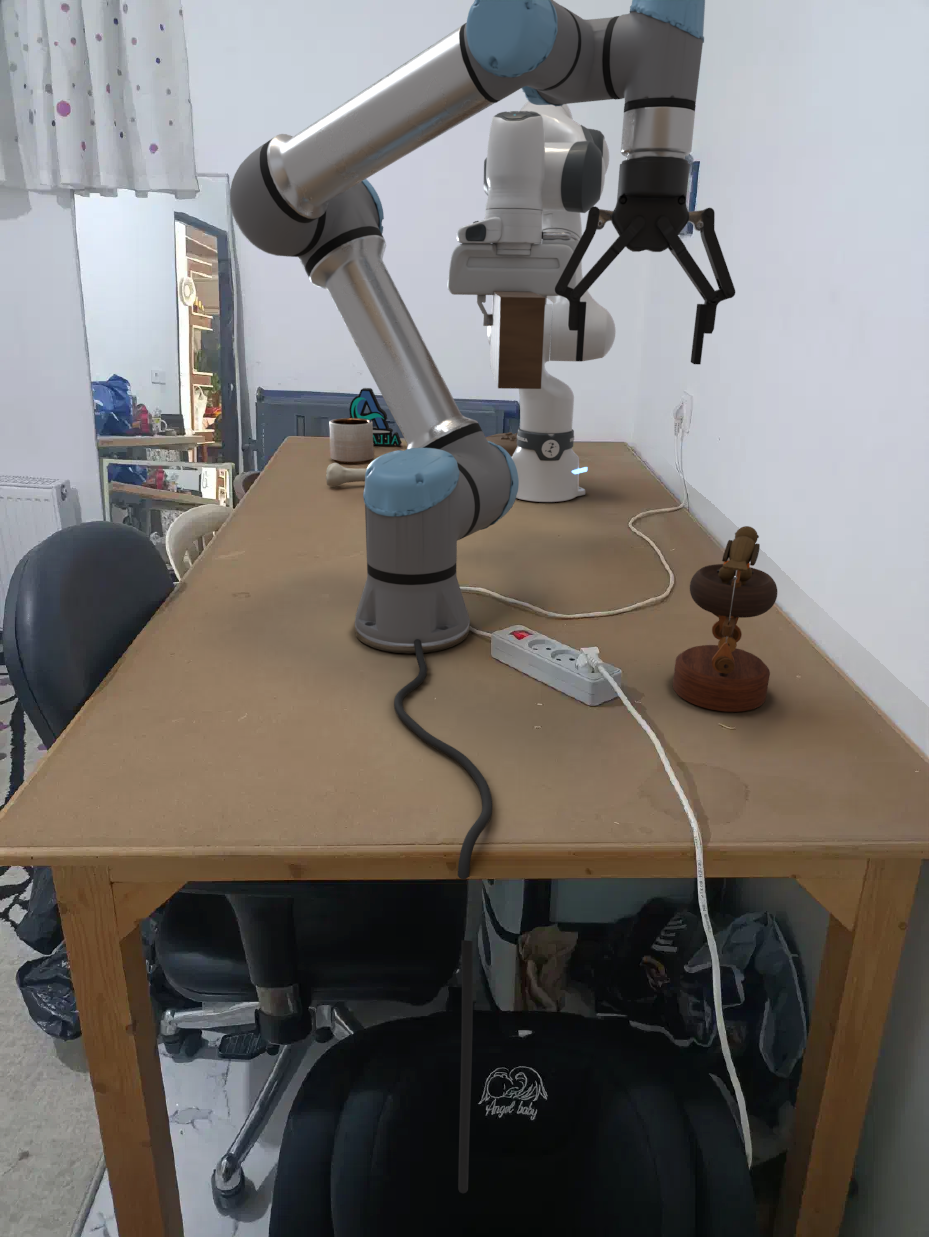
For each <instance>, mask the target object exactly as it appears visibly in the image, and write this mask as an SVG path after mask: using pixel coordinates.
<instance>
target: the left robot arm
mask: <svg viewBox="0 0 929 1237" xmlns="http://www.w3.org/2000/svg"><path fill="white" fill-rule="evenodd" d="M705 9H706V0H631V5H630V6H629V13H625V14H621V15H616V16H612V17H603V18H601V17H600V18H592V19H585V18H582V17H581V16H579V15H577V13H574V12H573V11H572V10H570V9H569V8H566V7H565V6H563V5H561V4H559V3H558V2H556V1H555V0H474V1H473V3H472V4H471V6H470V8H469V10H468V14H467V18H466V22H465V23H463V24H462V25H460V26H459V27H457V28H456V29H454V30H453V31H451V32H450V33H448V34H446V35H445V36H444V37H441V39H439V40H437V41H436V42H435V43H433V44H432V45H430V46H428V47H426V48H425V49H424V50H422V51H420V52H419V53H418V54H417V55H415V56H414V57H412V58H410V59H408V60H407V61H406V62H405V63H403V64H401V65H400V66H397V67H396V68H395V69H393V70H392V71H391V72H388V73H387V74H386V75H385V76H383V77H381V78H379V80H377V81H375V82H374V83H372V84H370V85H369V86H368V87H366V88H365V89H363V90H362V91H360V92H358V93H357V94H355V95H354V96H352V97H351V98H350V99H348V100H347V101H345V102H343V103H342V104H340V105H339V106H337V107H336V108H334V109H333V110H332V111H330V112H329V113H327V114H325V115H323V116H322V117H321V118H319V119H318V120H316V121H315V122H313V123H311V124H310V125H308V126H307V127H305V128H304V129H303V130H301V131H299V132H298V133H296V134H295V135H291V134H287V133H279V134H277V135H275V136H273V137H272V138H270V139H269V140H267V141H266V142H265V143H263V144H262V145H260V146H259V147H258V148H256V149H255V150H253V151H252V152H251V153H249V155H248V156H247V157H246V158H245V159H244V160H243V161H242V162H241V163H240V165H239V166H238V167H237V169H236V172H235V173H234V175H233V178H232V181H231V185H230V190H229V205H230V210H231V214H232V217H233V220H234V222H235V225H236V226H237V228H238V230H239V231H240V234H242V236H243V237H244V238H245V239H246V240H247V241H248V243H250V244H251V245H253V246H254V247H255V248H257V249H258V250H259V251H262V252H264V253H266V254H270V255H273V256H276V257H286V258H287V257H289V258H298V260H299V262H300V263H301V265H302V268H303V270H304V271H305V273H306V276H307V278H308V279H309V281H310V283H311V284H312V285H313V286H315V287H317V288H321V289H324V290H326V291H328V293H329V295H330V297H331V300H332V301H333V303H334V305H335V307H336V309H337V311H338V313H339V315H340V317H341V319H342V321H343V323H344V324H345V326H346V328H347V330H348V332H349V334H350V336H351V338H352V340H353V342H354V344H355V346H356V348H357V349H358V351H359V354H360V356H361V357H362V359H363V361H364V363H365V365H366V367H367V369H368V371H369V373H370V375H371V377H372V379H373V381H374V382H375V384H376V386H377V388H378V390H379V392H380V394H381V396H382V398H383V400H384V402H385V403H386V405H387V407H388V409H389V412H390V413H391V415H392V417H393V419H394V422H395V423H396V426H398V429H399V430H400V432H401V434H402V436H403V438H404V440H405V443H406V444H407V446H406V447H407V448H406V449H404V450H400V449H398V450H393V451H389V452H386V453H384V454H381V455H379V456H378V457H376V458H374V459H372V460H371V461H370V463H369V464H368V466H367V468H366V469H367V470H366V473H365V481H364V488H363V492H362V493H363V494H362V498H363V503H364V515H365V516H364V517H365V518H364V520H365V545H366V546H365V548H366V579H365V584H364V586H363V589H362V592H361V596H360V600H359V602H358V606H357V609H356V612H355V618H354V633H355V636H356V638H357V639H358V640H359V641H360V642H362V643H363V644H365V645H367V646H368V647H371V648H374V649H377V650H380V651H384V652H390V653H396V654H397V653H398V654H415V658H416V662H417V666H418V671H419V672H418V674H417V675H416V676H415V678H414V679H413V680H411V681H410V682H409V683H407V684H406V685H405V686H403V687H402V688H400V690H399V691H398V692H397V693H396V695H395V696H394V700H393V707H394V708H393V709H394V711H395V713H396V716H397V717H398V718H399V720H400V721H401V722H402V723H403V724H404V725H405V726H406V727H407V728H408V729H410V731H411V732H413V733H414V734H415V735H416V736H417V737H418V738H419V739H420V740H422V741H423V742H425V743H426V744H428V745H429V746H431V747H432V748H434V749H437V750H438V751H439V752H440V753H443V754H445V755H446V756H448V757H449V758H451V759H453V760H454V761H456V762H457V763H458V764H459V765H461V767H462V768H464V770H465V771H466V772H467V773H468V774H469V776H471V778H472V779H473V781H474V782H475V784H476V785H477V788H478V790H479V794H480V798H481V812H480V814H479V816H478V818H477V819H476V820H475V822H474V823H473V824H472V825H471V827H470V828H469V830H468V831H467V833H466V835H465V836H464V838H463V839H464V840H463V842H462V845H461V849H460V853H459V857H458V864H457V877H458V879H461V880H466V879H468V878H469V877H470V868H471V867H470V866H471V860H472V855H473V850H474V847H475V845H476V842H477V840H478V838H479V836H480V835H481V833H482V832H483V831H484V830H485V828H486V827H487V826H488V824H489V822H490V820H491V817H492V813H493V797H492V792H491V789H490V786H489V784H488V782H487V780H486V778H485V776H484V775H483V773H481V771H480V770H479V768H478V767H477V766H476V765H475V764H474V763H473V762H472V761H471V760H470V759H469V758H468V757H467V756H466V755H465V754H464V753H462V752H461V751H460V750H458V749H457V748H455V747H453V746H451V745H450V744H448V743H446V742H444V741H443V740H440V739H439V738H437V737H435V736H434V735H433V734H431V733H430V732H428V731H427V730H425V729H424V728H423V727H422V726H421V725H420V724H418V722H416V721H415V720H414V719H413V718H412V717H411V716H410V715H409V714H408V713H407V712H406V710H405V708H404V705H403V701H404V699H405V697H406V696H407V695H408V694H411V692H413V691H414V690H416V689H417V688H418V687H419V686H420V685H421V684H423V682H424V680H425V679H426V677H427V674H428V666H427V663H426V659H425V655H424V654H425V653H433V652H439V651H443V650H446V649H449V648H452V647H455V646H457V645H458V644H460V643H462V642H463V641H464V640H466V639H467V637H468V636H469V634H470V616H469V612H468V608H467V606H466V601H465V599H464V596H463V593H462V589H461V586H460V583H459V581H458V577H457V561H458V560H457V559H458V558H457V557H458V556H457V554H458V541H460V540H462V539H464V538H467V537H469V536H470V535H473V534H475V533H477V532H479V531H482V530H485V529H489V527H491V526H493V525H495V524H496V523H497V522H499V520H501V519H503V518H504V517H505V516H506V515H507V514H508V513H509V512H510V511H511V509H512V507H513V506H514V504H515V502H516V499H517V498H516V495H517V492H518V486H519V479H518V472H517V468H516V465H515V463H514V461H513V459H512V457H511V456H510V455H509V453H508V452H507V451H506V450H505V449H504V448H502V447H501V446H499V445H496V444H494V443H492V442H490V441H487V439H486V437H487V436H486V435H485V433H484V431H483V429H482V427H481V425H480V423H479V422H478V420H475V419H473V418H469V417H466V416H465V415H463V414H462V413H461V411H460V409H459V406H458V405H457V402H456V401H455V399H454V397H453V395H452V393H451V391H450V389H449V387H448V385H447V384H446V381H445V379H444V376H442V374H441V372H440V370H439V367H438V365H437V363H436V361H435V360H434V358H433V356H432V354H431V351H430V350H429V349H428V346H427V344H426V342H425V340H424V339H423V337H422V335H421V333H420V331H419V328H418V327H417V324H416V323H415V321H414V319H413V317H412V315H411V313H410V310H409V309H408V307H407V304H406V303H405V301H404V299H403V297H402V295H401V293H400V292H399V290H398V287H397V286H396V284H395V282H394V280H393V278H392V276H391V274H390V272H389V270H388V269H387V266H386V264H385V262H384V260H383V258H384V254H385V251H386V248H387V242H386V240H385V238H384V235H383V233H384V226H383V220H384V219H385V216H384V208H383V204H382V201H381V198H380V196H379V194H378V192H377V190H376V189H375V187H374V186H373V184H372V183H371V182H370V181H369V180H368V178H370V177H372V176H373V175H376V174H377V173H379V172H381V171H382V170H384V169H385V168H388V167H389V166H390V165H392V164H394V163H396V162H397V161H399V160H401V159H402V158H405V157H406V156H407V155H409V154H411V153H413V152H414V151H416V150H418V149H419V148H421V147H423V146H424V145H426V144H428V143H430V142H431V141H433V140H434V139H437V138H438V137H440V136H441V135H443V134H445V133H446V132H448V131H450V130H452V129H453V128H455V127H457V126H458V125H460V124H462V123H463V122H465V121H467V120H468V119H470V118H472V117H474V116H476V115H477V114H479V113H481V112H482V111H484V110H486V109H487V108H489V107H491V106H492V105H494V104H496V103H498V102H501V101H502V100H503V99H506V98H507V97H509V96H511V95H513V94H514V93H516V92H518V91H519V90H521V92H523V93H524V97H525V98H526V100H527V102H528V101H529V102H530V103H532V104H534V105H554V106H562V105H563V104H567V105H568V104H579V103H588V102H599V101H600V102H601V101H608V100H615V101H616V100H623V99H624V106H623V117H622V118H623V119H622V131H621V142H620V143H621V145H620V154H621V155H622V156H624V157H625V159H624V160H622V161H621V163H620V164H619V171H618V182H617V195H616V196H617V197H616V204H615V208H614V209H613V210H611V209H610V210H609V209H602V208H599V207H598V206H593V207H592V208H590V210H588V211H587V216H586V217H587V218H586V225H585V229H584V231H583V232H582V237H581V239H580V241H579V242H578V244H577V246H576V248H575V250H574V252H573V254H572V256H571V258H570V260H569V262H568V263H567V265H566V267H565V269H564V271H563V273H562V275H561V277H560V279H559V281H558V283H557V284H556V286H555V292H556V294H558V295H560V296H562V297H565V298H567V299H568V301H569V318H568V327H569V330H572V331H577V346H576V361H575V362H577V361H582V362H584V361H583V347H584V332H585V316H586V302H580V298H581V297H582V296H583V295H584V293H585V292H586V291H587V290H588V291H589V289H590V288H591V287H592V286H593V285H594V283H595V282H596V281H597V280H598V279H599V277H600V276H601V275H602V274H603V273H604V272H605V271H606V269H608V268H609V266H610V265H611V264H612V263H613V262H614V260H615V259H616V258H617V257H618V256H619V255H620V254H621V253H622V251H623V250H624V249H625V248H626V249H627V250H628V251H631V252H634V253H640V252H643V251H648V252H651V253H661V252H664V251H666V250H667V249H668V250H669V252H670V253H671V255H672V256H673V257H674V258H675V260H676V261H677V262H678V264H679V265H680V267H681V269H682V270H683V271H684V273H685V274H686V276H687V277H688V279H689V281H691V283H692V285H693V286H694V287H695V289H696V290H697V292H698V293H699V295H700V296H701V297H702V299H703V301H704V303H697V304H696V309H695V310H696V311H695V318H694V327H693V337H692V345H691V355H690V363H691V364H692V365H701V364H702V354H703V346H704V337H705V334H707V335H708V334H711V335H712V334H713V332H714V331H715V324H716V316H717V307H718V305H719V304H720V303H721V302H722V301H725V300H728V299H732V298H734V296H735V295H736V288H735V285H734V283H733V279H732V277H731V273H730V271H729V268H728V264H727V262H726V260H725V256H724V253H723V251H722V248H721V245H720V242H719V239H718V236H717V233H716V231H715V223H716V222H715V221H716V220H715V219H716V218H715V216H716V213H715V210H714V209H713V208H712V207H706V208H704V209H702V210H692V211H689V210H688V207H687V196H688V187H689V186H688V185H689V178H690V169H691V168H690V167H691V164H690V163H689V161H688V160H687V159H686V157H688V156H689V155H690V154H691V153H692V149H693V140H694V129H695V118H696V107H697V106H696V104H697V103H696V102H697V95H698V89H699V88H698V86H699V80H700V79H699V78H700V72H701V71H700V69H701V63H702V53H703V46H704V43H705V36H704V29H705V28H704V27H705V11H706V10H705ZM608 222H611V224H612V226H613V227H614V230H615V231H616V233H617V234H618V237H617V238H616V239H615V240H614V242H612V244H611V245H610V246H609V247H608V248H607V250H606V251H605V252H604V253H603V254H602V255H601V257H600V258H599V259H598V260H597V261H596V262H595V264H594V265H592V267H591V268H590V269H589V270H588V271H587V273H586V274H585V275H584V276H583V279H582V280H581V281H580V282H579V283H578V284H577V286H576V287H575V288H574V289H573V288H570V287H568V285H569V283H570V281H571V279H572V277H573V275H574V273H575V271H576V269H577V268H578V266H579V264H580V262H581V260H583V258H584V256H585V254H586V252H587V251H588V249H589V247H590V245H591V243H592V241H593V239H594V237H595V235H596V232H597V231H601V230H602V229H603V228H604V227H605V225H606V224H607V223H608ZM688 223H691V224H692V226H693V229H694V230H695V231H696V232H699V234H700V238H701V242H702V245H703V248H704V250H705V253H706V256H707V258H708V261H709V265H710V266H711V270H712V273H713V276H714V279H715V282H716V284H717V287H718V289H716V290H715V289H714V287H713V286H712V284H711V283H710V281H709V279H708V278H707V277H706V275H705V274H704V273H703V271H702V270H701V268H700V266H699V265H698V264H697V262H696V261H695V259H694V258H693V256H692V255H691V254H690V252H689V250H688V249H687V246H686V245H685V244H684V242H683V240H682V238H680V236H679V235H680V234H681V232H682V231H683V230H684V229H685V227H686V226H687V225H688ZM473 942H474V941H473V940H467V939H466V940H465V939H461V1048H460V1050H461V1051H460V1053H461V1054H460V1089H459V1090H460V1093H459V1096H460V1098H459V1132H458V1134H459V1135H458V1180H457V1182H458V1183H457V1186H458V1188H457V1189H458V1191H459V1193H461V1194H466V1193H467V1192H468V1191H469V1167H470V1166H469V1164H470V1163H469V1162H470V1161H469V1160H470V1159H469V1158H470V1130H471V1128H470V1126H471V1099H472V1097H471V1094H472V1064H473V1063H472V1062H473V1022H474V1021H473V1019H474V1018H473V1015H474V1014H473V1013H474V1011H473V1010H474V1008H473V1007H474V1005H473V1003H474V946H473V944H474V943H473Z"/></svg>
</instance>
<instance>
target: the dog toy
mask: <svg viewBox="0 0 929 1237" xmlns="http://www.w3.org/2000/svg"><path fill="white" fill-rule="evenodd" d="M366 470H367V468H349V467H344V466H342V465H341V464H339V462H333V463H330V464H329V465H328V466H327V468H326V473H325V474H326V476H325V481H326V485H327V486H330V487H339V486H342V485H344V484H347V483H356V482H357V483H358V482H365V473H366Z"/></svg>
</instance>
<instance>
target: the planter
mask: <svg viewBox="0 0 929 1237" xmlns="http://www.w3.org/2000/svg"><path fill="white" fill-rule="evenodd" d="M328 424H329V425H328V426H329V453H330V454H329V455H330V456H329V457H330V459H331V460H332V461H333V462H334V463H338V464H339V463H341V464H363V463H367V462H371V461H373V460H374V456H375V455H374V452H375V451H374V450H375V449H374V444H373V427H374V426H373V421H371V420H368V419H362V418H350V417H342V418H341V417H340V418H335V419H334V418H333V419H331V420H329V421H328Z"/></svg>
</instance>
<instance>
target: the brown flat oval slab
mask: <svg viewBox="0 0 929 1237" xmlns="http://www.w3.org/2000/svg"><path fill="white" fill-rule="evenodd" d="M517 433H518V432H515V433H513V432H512V431H509V432H502V433H496V434H491V435H487V436H485V437H486V439H487V441H490V442H492V443H494V444H496V445H499V446H501V447H502V448H504V449H505V450H506V451H507V452H508V453H509V455H510V456H511V457H512V456H513V454H514V452H515V450H516V448H517V446H518V445H517Z"/></svg>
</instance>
